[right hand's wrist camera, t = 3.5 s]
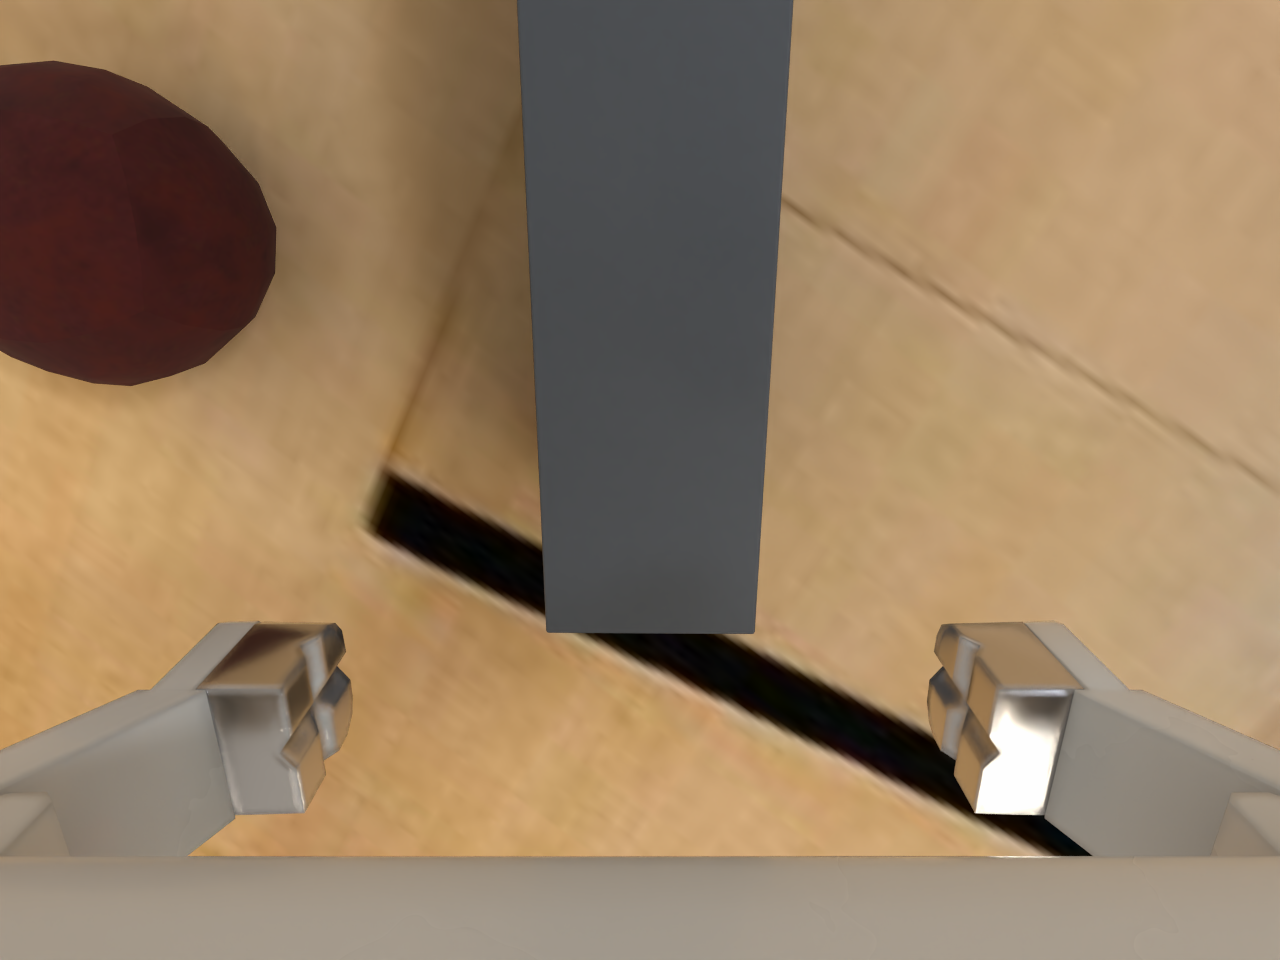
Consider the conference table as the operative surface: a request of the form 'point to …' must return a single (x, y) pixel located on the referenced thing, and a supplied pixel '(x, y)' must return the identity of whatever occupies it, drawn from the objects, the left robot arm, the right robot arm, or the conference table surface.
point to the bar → (652, 301)
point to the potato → (121, 229)
